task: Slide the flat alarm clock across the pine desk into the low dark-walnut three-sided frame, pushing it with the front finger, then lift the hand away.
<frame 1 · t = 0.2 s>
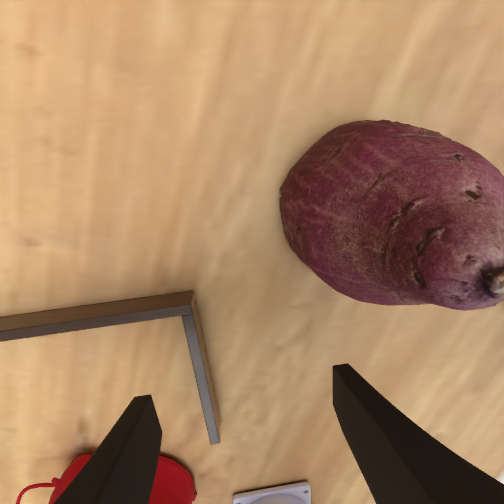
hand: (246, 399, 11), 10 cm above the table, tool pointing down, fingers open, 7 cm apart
vegetable: (350, 205, 19), on the table
walnut frame: (79, 383, 22), on the table
alarm clock: (122, 482, 26), on the table
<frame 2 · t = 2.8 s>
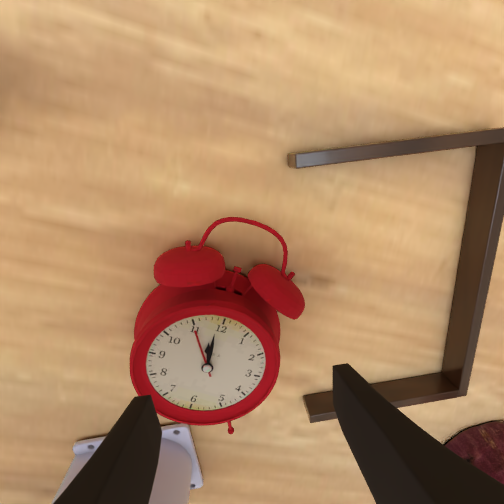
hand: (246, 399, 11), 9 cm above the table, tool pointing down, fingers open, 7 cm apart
vegetable: (474, 454, 29), on the table
walnut frame: (381, 286, 21), on the table
alarm clock: (216, 310, 20), on the table
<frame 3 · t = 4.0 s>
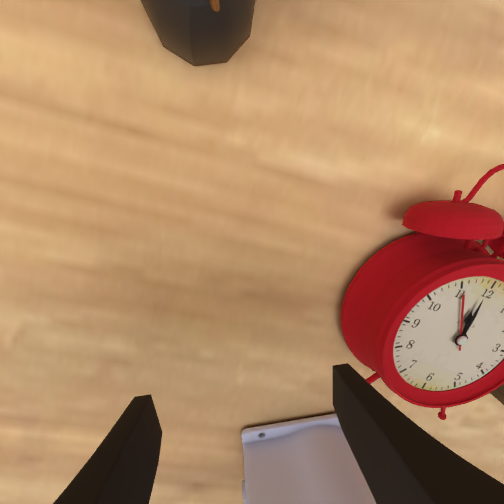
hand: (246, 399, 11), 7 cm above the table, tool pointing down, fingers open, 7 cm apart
alarm clock: (424, 280, 18), on the table
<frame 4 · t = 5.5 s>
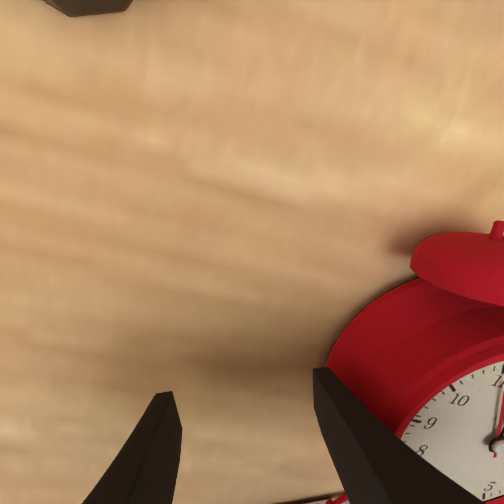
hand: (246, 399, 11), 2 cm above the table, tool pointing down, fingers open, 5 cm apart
alarm clock: (438, 336, 13), on the table, touching gripper
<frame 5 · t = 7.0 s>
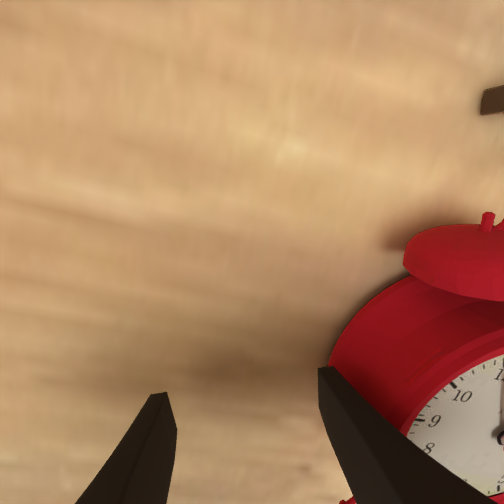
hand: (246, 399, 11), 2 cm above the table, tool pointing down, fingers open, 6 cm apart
alarm clock: (441, 328, 13), on the table, touching gripper
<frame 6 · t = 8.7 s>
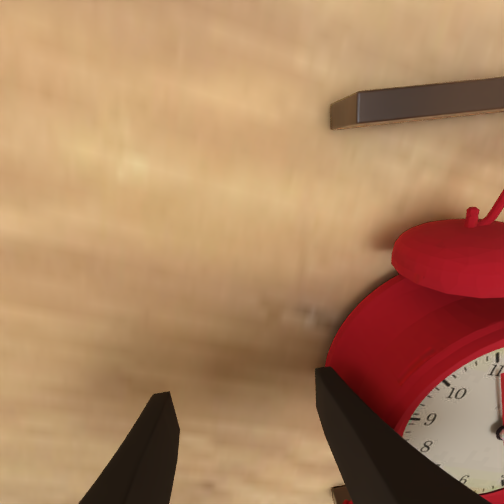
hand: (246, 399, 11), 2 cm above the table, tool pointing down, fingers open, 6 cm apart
walnut frame: (465, 334, 13), on the table
alarm clock: (438, 323, 13), on the table, touching gripper
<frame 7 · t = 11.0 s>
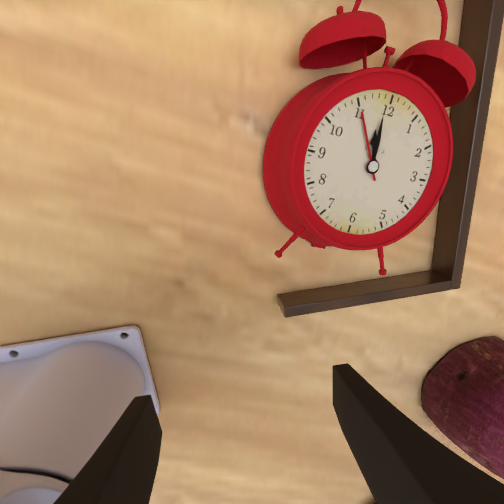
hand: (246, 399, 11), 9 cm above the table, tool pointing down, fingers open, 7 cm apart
vegetable: (466, 380, 27), on the table
walnut frame: (364, 150, 18), on the table
alarm clock: (345, 140, 18), on the table
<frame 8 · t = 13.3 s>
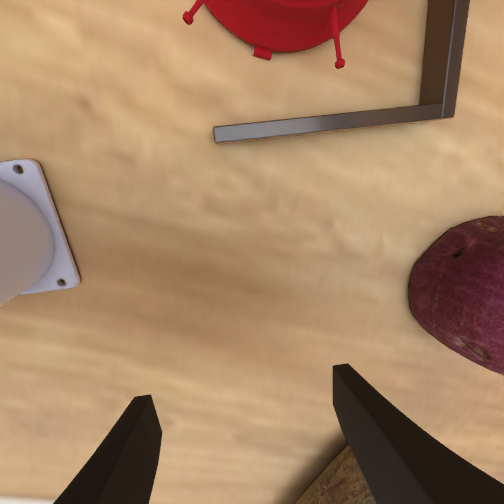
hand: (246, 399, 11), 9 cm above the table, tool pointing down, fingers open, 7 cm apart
vegetable: (467, 279, 22), on the table
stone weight: (331, 471, 28), on the table
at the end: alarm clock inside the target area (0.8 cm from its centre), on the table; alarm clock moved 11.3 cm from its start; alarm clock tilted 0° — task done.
